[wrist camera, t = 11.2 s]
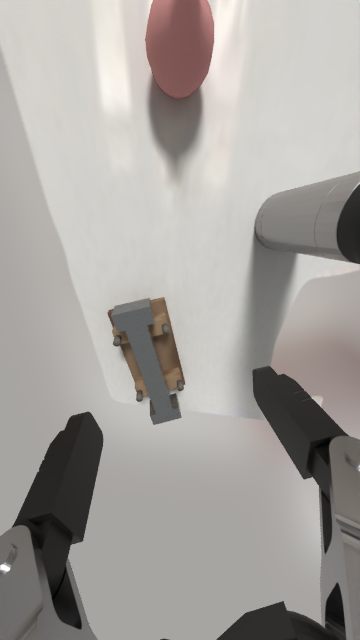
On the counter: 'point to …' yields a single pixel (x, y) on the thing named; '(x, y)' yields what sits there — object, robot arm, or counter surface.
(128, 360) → the rack
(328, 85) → the counter surface
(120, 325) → the grey flared end bar
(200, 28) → the pink teardrop shape
